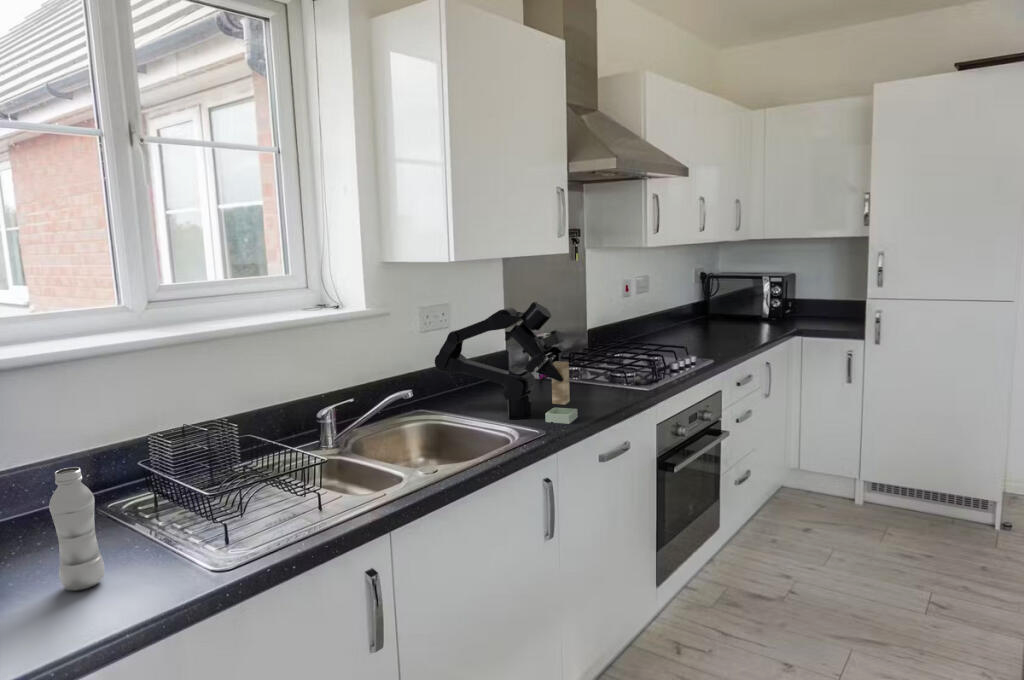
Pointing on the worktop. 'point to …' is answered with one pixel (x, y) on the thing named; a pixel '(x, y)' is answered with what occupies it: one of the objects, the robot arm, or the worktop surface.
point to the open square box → (561, 415)
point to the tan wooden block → (561, 384)
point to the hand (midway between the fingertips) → (564, 379)
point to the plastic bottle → (75, 531)
